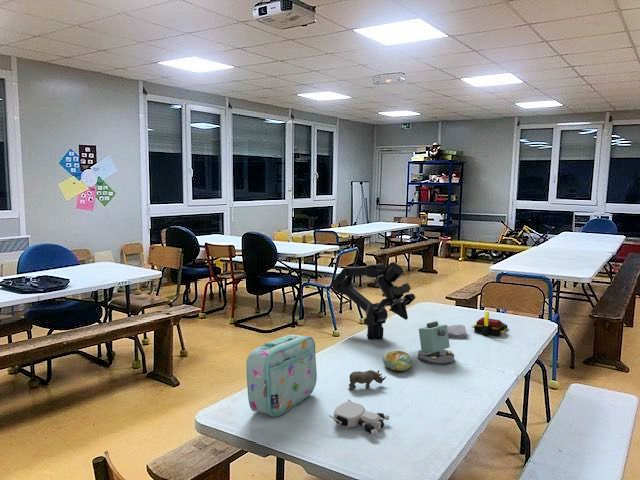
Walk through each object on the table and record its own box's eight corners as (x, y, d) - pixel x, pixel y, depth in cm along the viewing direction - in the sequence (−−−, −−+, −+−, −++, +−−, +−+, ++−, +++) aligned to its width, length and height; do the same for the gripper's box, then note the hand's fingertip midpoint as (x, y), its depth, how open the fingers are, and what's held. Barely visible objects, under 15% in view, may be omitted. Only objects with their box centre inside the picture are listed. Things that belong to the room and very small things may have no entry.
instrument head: (421, 351, 199) (417, 324, 200) (437, 346, 206) (434, 319, 206) (437, 353, 193) (434, 324, 194) (453, 347, 199) (450, 320, 200)
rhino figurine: (388, 387, 173) (388, 370, 172) (349, 391, 170) (350, 374, 169) (383, 383, 177) (384, 366, 176) (346, 386, 174) (346, 369, 173)
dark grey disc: (410, 357, 202) (410, 350, 201) (433, 350, 210) (433, 343, 210) (438, 368, 191) (439, 361, 190) (461, 360, 199) (461, 353, 199)
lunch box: (270, 425, 146) (270, 354, 143) (243, 416, 151) (242, 347, 149) (319, 392, 168) (320, 330, 166) (294, 386, 174) (294, 325, 171)
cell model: (414, 354, 198) (414, 353, 184) (408, 374, 197) (408, 374, 182) (387, 346, 201) (385, 344, 186) (381, 366, 199) (379, 365, 185)
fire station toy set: (469, 333, 234) (470, 310, 233) (481, 323, 251) (483, 301, 249) (501, 339, 226) (502, 315, 225) (512, 328, 243) (513, 306, 241)
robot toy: (391, 425, 149) (345, 410, 156) (392, 411, 148) (346, 396, 155) (374, 444, 138) (326, 427, 145) (376, 429, 137) (327, 412, 144)
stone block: (468, 342, 227) (464, 331, 236) (468, 333, 225) (464, 322, 234) (441, 342, 228) (438, 331, 237) (441, 332, 226) (438, 322, 236)
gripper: (382, 280, 207) (402, 312, 200) (413, 274, 219) (432, 305, 212) (368, 295, 214) (387, 327, 207) (399, 289, 226) (417, 319, 219)
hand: (406, 319), depth 211 cm, fingers closed
